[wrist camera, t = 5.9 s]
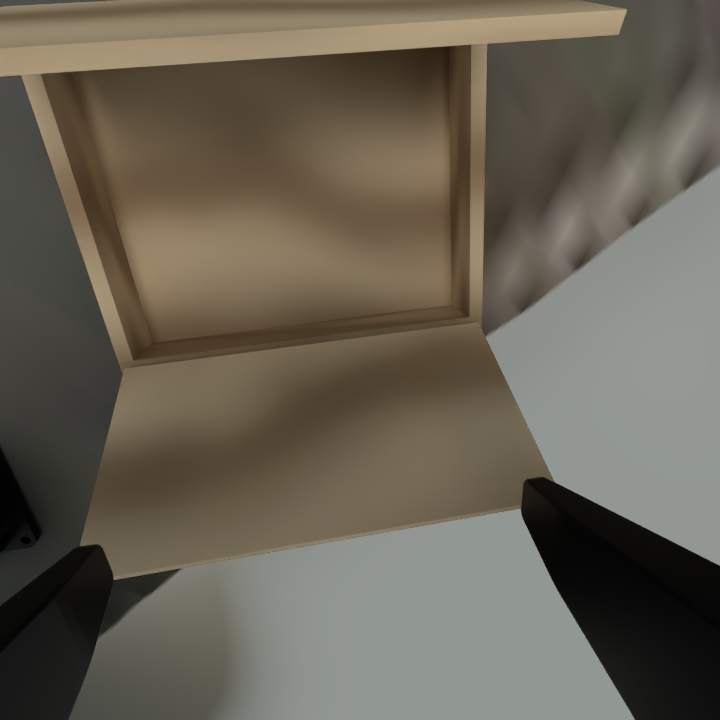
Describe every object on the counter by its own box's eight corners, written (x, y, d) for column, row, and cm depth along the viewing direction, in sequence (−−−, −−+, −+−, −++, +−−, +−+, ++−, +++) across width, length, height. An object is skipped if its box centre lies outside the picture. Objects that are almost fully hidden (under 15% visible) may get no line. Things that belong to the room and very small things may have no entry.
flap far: (478, 322, 18) (475, 329, 18) (124, 368, 17) (129, 375, 17) (561, 497, 13) (556, 503, 14) (70, 583, 12) (79, 586, 12)
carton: (460, 312, 21) (481, 327, 19) (146, 353, 20) (122, 375, 17) (459, 17, 17) (488, -18, 14) (50, 42, 15) (-1, 9, 13)
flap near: (618, 34, 9) (627, 9, 8) (-181, 88, 7) (-205, 61, 7) (480, -4, 14) (482, -20, 14) (12, 23, 13) (3, 6, 12)
